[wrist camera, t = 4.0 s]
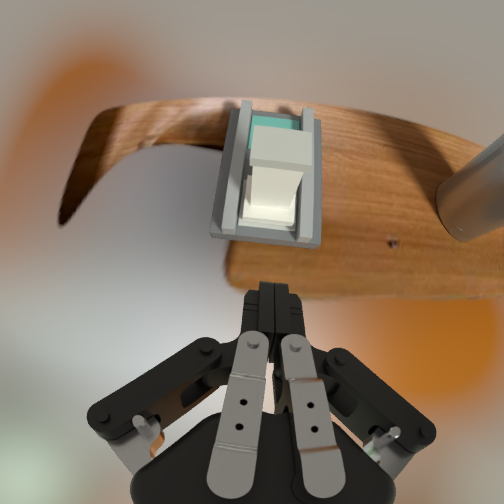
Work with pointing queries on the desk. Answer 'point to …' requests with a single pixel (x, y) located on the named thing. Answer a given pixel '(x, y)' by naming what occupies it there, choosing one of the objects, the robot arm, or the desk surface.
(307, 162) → the switch tab
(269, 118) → the switch panel
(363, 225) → the desk surface
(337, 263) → the desk surface
